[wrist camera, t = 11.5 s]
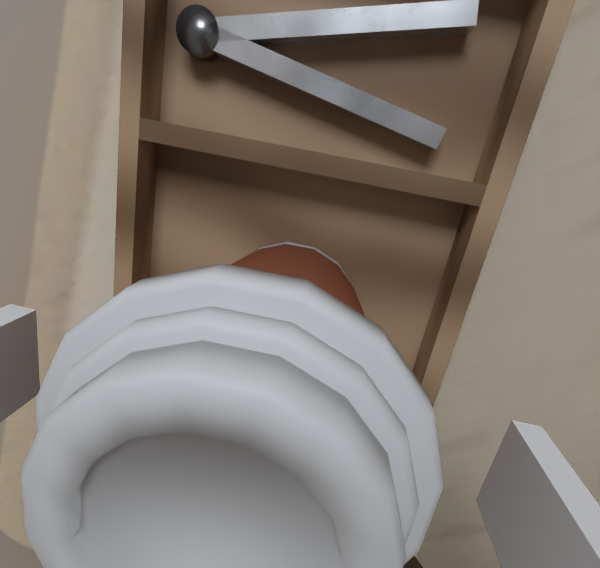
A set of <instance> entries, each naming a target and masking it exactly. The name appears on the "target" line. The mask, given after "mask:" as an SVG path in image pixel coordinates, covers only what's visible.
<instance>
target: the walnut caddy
mask: <svg viewBox="0 0 600 568" xmlns="http://www.w3.org/2000/svg"><path fill="white" fill-rule="evenodd" d="M435 1H449V0H123V28H122V58H121V88H120V118H119V149H118V179H117V209H116V239H115V270H114V297H115V296H116V295H118V294H119V293H120V292H122V291H123V290H124V289H126V288H127V287H129V286H131V285H132V284H134V283H136V282H138V281H140V280H141V279H145V278H150V277H155V276H160V275H165V274H170V273H175V272H180V271H185V270H190V269H195V268H200V267H205V266H210V265H215V264H220V263H224V264H229V265H231V264H232V263H234V262H236V261H238V260H240V259H241V258H243V257H245V256H247V255H249V254H251V253H252V252H254V251H255V250H257V249H258V248H260V247H261V246H266V245H270V244H275V243H280V242H285V241H291V242H296V243H301V244H306V245H311V246H316V247H317V248H319V249H320V250H322V251H323V252H325V253H326V254H328V255H329V256H331V257H332V258H334V259H336V260H337V261H338V262H339V263H340V264H341V266H342V267H343V269H344V270H345V272H346V273H347V275H348V276H349V278H350V279H351V281H352V282H353V283H354V289H355V292H356V294H357V297H358V299H359V302H360V304H361V307H362V309H363V312H364V315H365V317H367V318H368V319H370V320H371V321H373V322H374V323H376V324H378V325H379V326H381V327H382V328H383V329H384V331H385V332H386V334H387V335H388V337H389V338H390V340H391V341H392V343H393V344H394V345H395V347H396V348H397V350H398V351H399V353H400V354H401V356H402V357H403V359H404V360H405V362H406V363H407V364H408V366H409V367H410V369H411V370H412V372H413V373H414V375H415V376H416V378H417V379H418V381H419V382H420V383H421V385H422V386H423V388H424V389H425V391H426V392H427V394H428V397H429V400H430V402H431V405H432V408H433V405H434V402H435V399H436V397H437V394H438V391H439V388H440V385H441V382H442V379H443V377H444V374H445V371H446V368H447V365H448V362H449V359H450V357H451V354H452V351H453V348H454V345H455V342H456V340H457V337H458V334H459V331H460V328H461V325H462V322H463V320H464V317H465V314H466V311H467V308H468V305H469V302H470V300H471V297H472V294H473V291H474V288H475V285H476V282H477V280H478V277H479V274H480V271H481V268H482V265H483V263H484V260H485V257H486V254H487V251H488V248H489V245H490V243H491V240H492V237H493V234H494V231H495V228H496V225H497V223H498V220H499V217H500V214H501V211H502V208H503V206H504V203H505V200H506V197H507V194H508V191H509V188H510V186H511V183H512V180H513V177H514V174H515V171H516V168H517V166H518V163H519V160H520V157H521V154H522V151H523V148H524V146H525V143H526V140H527V137H528V134H529V131H530V129H531V126H532V123H533V120H534V117H535V114H536V111H537V109H538V106H539V103H540V100H541V97H542V94H543V91H544V89H545V86H546V83H547V80H548V77H549V74H550V71H551V69H552V66H553V63H554V60H555V57H556V54H557V52H558V49H559V46H560V43H561V40H562V37H563V34H564V32H565V29H566V26H567V23H568V20H569V17H570V14H571V12H572V9H573V6H574V3H575V0H479V6H478V16H477V26H476V27H475V28H474V29H473V30H472V31H471V32H470V33H469V34H468V35H461V36H444V37H428V38H411V39H394V40H378V41H361V42H344V43H328V44H311V45H295V46H278V47H265V48H267V49H269V50H272V51H274V52H276V53H278V54H281V55H283V56H285V57H287V58H290V59H292V60H294V61H296V62H299V63H301V64H303V65H305V66H308V67H310V68H312V69H314V70H317V71H319V72H321V73H323V74H326V75H328V76H330V77H332V78H335V79H337V80H339V81H341V82H344V83H346V84H348V85H350V86H353V87H355V88H357V89H359V90H362V91H364V92H366V93H368V94H371V95H373V96H375V97H377V98H380V99H382V100H384V101H386V102H388V103H391V104H393V105H395V106H397V107H400V108H402V109H404V110H406V111H409V112H411V113H413V114H415V115H418V116H420V117H422V118H424V119H427V120H429V121H431V122H433V123H436V124H438V125H440V126H442V127H445V128H447V130H446V132H445V134H444V136H443V138H442V140H441V142H440V143H439V145H438V147H437V149H436V150H431V151H430V150H428V149H426V148H424V147H421V146H419V145H417V144H415V143H412V142H410V141H408V140H406V139H403V138H401V137H399V136H397V135H394V134H392V133H390V132H388V131H385V130H383V129H381V128H378V127H376V126H374V125H372V124H369V123H367V122H365V121H363V120H360V119H358V118H356V117H354V116H351V115H349V114H347V113H345V112H342V111H340V110H338V109H336V108H333V107H331V106H329V105H327V104H324V103H322V102H320V101H318V100H315V99H313V98H311V97H309V96H306V95H304V94H302V93H300V92H297V91H295V90H293V89H290V88H288V87H286V86H284V85H281V84H279V83H277V82H275V81H272V80H270V79H268V78H266V77H263V76H261V75H259V74H257V73H254V72H252V71H250V70H248V69H245V68H243V67H241V66H239V65H236V64H234V63H232V62H230V61H227V60H225V59H223V58H221V57H219V58H218V59H216V60H215V61H212V62H204V61H201V60H199V59H197V58H196V57H195V56H193V55H192V54H191V53H189V52H188V51H187V50H185V49H184V48H183V47H182V45H181V44H180V42H179V40H178V38H177V35H176V21H177V18H178V16H179V14H180V13H181V11H182V10H183V9H184V8H186V7H187V6H189V5H193V4H198V5H202V6H204V7H206V8H207V9H209V10H210V11H211V13H212V14H213V15H214V16H215V17H220V16H234V15H249V14H263V13H277V12H292V11H306V10H320V9H335V8H349V7H363V6H377V5H392V4H406V3H420V2H435Z"/></svg>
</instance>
